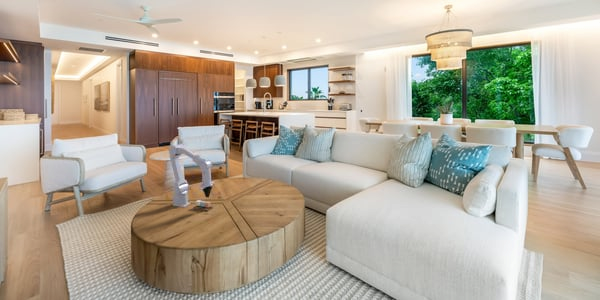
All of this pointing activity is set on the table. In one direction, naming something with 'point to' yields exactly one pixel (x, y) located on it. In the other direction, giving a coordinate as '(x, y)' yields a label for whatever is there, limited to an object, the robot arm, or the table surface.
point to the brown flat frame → (203, 208)
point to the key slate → (202, 203)
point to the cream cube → (198, 202)
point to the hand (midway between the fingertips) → (207, 196)
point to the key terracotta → (207, 204)
